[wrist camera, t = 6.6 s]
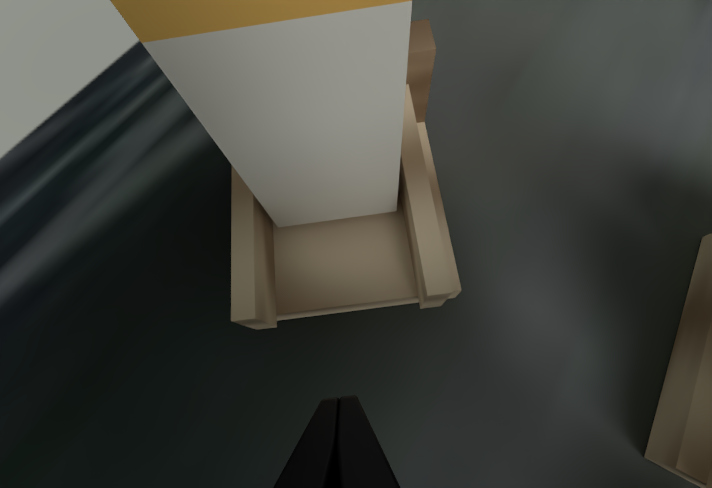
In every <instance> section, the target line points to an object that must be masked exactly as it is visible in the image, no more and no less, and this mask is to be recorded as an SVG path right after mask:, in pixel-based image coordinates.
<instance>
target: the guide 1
mask: <svg viewBox="0 0 712 488" xmlns="http://www.w3.org/2000/svg"><path fill="white" fill-rule="evenodd" d="M435 52H436V47H435V43H434V39H433V35H432V31H431V27H430V23H429V20H428V19H425V20H418V21H412V22H410V36H409V49H408V63H407V76H406V90H405V103H404V117H403V130H402V143H401V157H400V170H399V184H398V197H397V211H395V212H387V213H380V214H373V215H366V216H358V217H351V218H344V219H336V220H329V221H322V222H315V223H307V224H300V225H293V226H286V227H277V225H276V224H275V223H274V221H273V220H272V219H271V217H270V216H269V214H268V213H267V212H266V210H265V209H264V208H263V206H262V205H261V204H260V202H259V201H258V200H257V198H256V197H255V196H254V194H253V193H252V191H251V190H250V189H249V187H248V186H247V185H246V183H245V182H244V181H243V179H242V178H241V177H240V175H239V174H238V173H237V171H236V170H235V168H234V167H233V166H232V197H231V321H232V322H235V323H238V324H241V325H244V326H247V327H250V328H253V329H256V330H259V329H267V328H275V327H277V321H279V320H287V319H294V318H302V317H310V316H318V315H325V314H333V313H341V312H349V311H356V310H364V309H372V308H380V307H387V306H395V305H403V304H410V303H418V302H419V305H420V309H422V308H430V307H438V306H442V304H443V303H444V302H445V301H446V300H447V299H449V298H455V297H456V296H457V295H458V294H459V293H460V292H461V285H460V281H459V276H458V272H457V267H456V263H455V258H454V254H453V249H452V245H451V240H450V235H449V231H448V226H447V222H446V217H445V213H444V208H443V204H442V199H441V195H440V190H439V186H438V181H437V177H436V172H435V168H434V163H433V159H432V154H431V149H430V145H429V140H428V136H427V131H426V127H425V122H424V121H425V115H426V109H427V103H428V96H429V90H430V84H431V77H432V71H433V65H434V59H435Z"/></svg>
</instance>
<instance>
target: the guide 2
mask: <svg viewBox="0 0 712 488" xmlns="http://www.w3.org/2000/svg"><path fill="white" fill-rule="evenodd" d="M644 458H646V459H648V460H650V461H652V462H653V463H655V464H657V465H659V466H661V467H663V468H665V469H667V470H669V471H670V472H672V473H674V474H676V475H678V476H680V477H682V478H684V479H686V480H688V481H689V482H691V483H693V484H695V485H697V486H699V487H701V488H712V233H710V234H708V235H706V236H703V237H702V240H701V244H700V248H699V252H698V255H697V259H696V263H695V267H694V270H693V274H692V278H691V282H690V286H689V289H688V293H687V297H686V301H685V304H684V308H683V312H682V316H681V320H680V323H679V327H678V331H677V335H676V339H675V342H674V346H673V350H672V354H671V357H670V361H669V365H668V369H667V373H666V376H665V380H664V384H663V388H662V392H661V395H660V399H659V403H658V407H657V410H656V414H655V418H654V422H653V426H652V429H651V433H650V437H649V441H648V445H647V448H646V452H645V456H644Z"/></svg>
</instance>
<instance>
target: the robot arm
mask: <svg viewBox="0 0 712 488" xmlns="http://www.w3.org/2000/svg"><path fill="white" fill-rule="evenodd" d="M274 488H400V486H399V484H398V482H397V479H396V477H395V475H394V473H393V471H392V469H391V467H390V465H389V463H388V461H387V458H386V456H385V454H384V452H383V450H382V448H381V446H380V444H379V442H378V440H377V437H376V435H375V433H374V431H373V429H372V427H371V425H370V423H369V421H368V419H367V416H366V414H365V412H364V410H363V408H362V406H361V404H360V402H359V400H358V398H357V396H355V395H353V396H345V397H341V398H340V400H339V398H328V399H323V400H322V401H321V402H320V404H319V406H318V407H317V409H316V411H315V413H314V415H313V416H312V418H311V420H310V422H309V424H308V426H307V427H306V429H305V431H304V433H303V435H302V437H301V438H300V440H299V442H298V444H297V446H296V447H295V449H294V451H293V453H292V455H291V457H290V458H289V460H288V462H287V464H286V466H285V467H284V469H283V471H282V473H281V475H280V477H279V478H278V480H277V482H276V484H275V486H274Z"/></svg>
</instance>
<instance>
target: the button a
mask: <svg viewBox="0 0 712 488" xmlns="http://www.w3.org/2000/svg"><path fill="white" fill-rule="evenodd" d="M111 2H112V3H113V5H114V6H115V7H116V9H117V10H118V11H119V13H120V14H121V15H122V17H123V18H124V20H125V21H126V22H127V24H128V25H129V26H130V28H131V29H132V30H133V32H134V33H135V34H136V36H137V37H138V38H139V40H140V41H141V43H142V44H143V45H144V47H145V48H146V49H147V51H148V52H149V53H150V55H151V56H152V57H153V59H154V60H155V61H156V63H157V64H158V66H159V67H160V68H161V70H162V71H163V72H164V74H165V75H166V76H167V78H168V79H169V80H170V82H171V83H172V85H173V86H174V87H175V89H176V90H177V91H178V93H179V94H180V95H181V97H182V98H183V99H184V101H185V102H186V103H187V105H188V106H189V108H190V109H191V110H192V112H193V113H194V114H195V116H196V117H197V118H198V120H199V121H200V122H201V124H202V125H203V126H204V128H205V129H206V131H207V132H208V133H209V135H210V136H211V137H212V139H213V140H214V141H215V143H216V144H217V145H218V147H219V148H220V149H221V151H222V152H223V154H224V155H225V156H226V158H227V159H228V160H229V162H230V163H231V164H232V166H233V167H234V168H235V170H236V171H237V173H238V174H239V175H240V177H241V178H242V179H243V181H244V182H245V183H246V185H247V186H248V187H249V189H250V190H251V191H252V193H253V194H254V196H255V197H256V198H257V200H258V201H259V202H260V204H261V205H262V206H263V208H264V209H265V210H266V212H267V213H268V214H269V216H270V217H271V219H272V220H273V221H274V223H275V224H276V225H277V227H286V226H293V225H300V224H307V223H315V222H322V221H329V220H336V219H344V218H351V217H358V216H366V215H373V214H380V213H387V212H395V211H397V197H398V184H399V170H400V157H401V143H402V130H403V117H404V103H405V90H406V76H407V63H408V49H409V36H410V22H411V9H412V0H111Z"/></svg>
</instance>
